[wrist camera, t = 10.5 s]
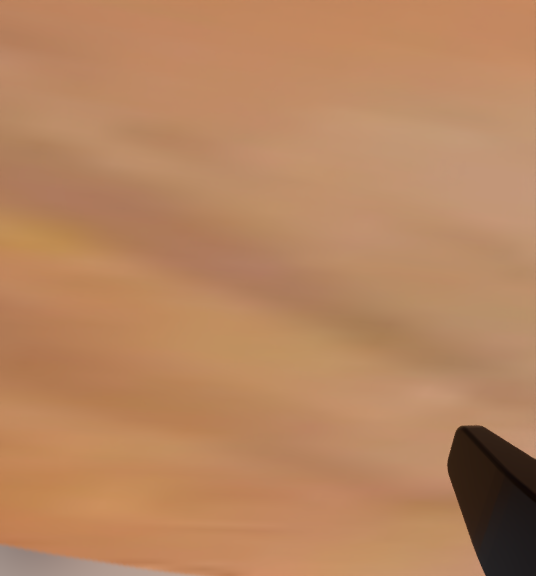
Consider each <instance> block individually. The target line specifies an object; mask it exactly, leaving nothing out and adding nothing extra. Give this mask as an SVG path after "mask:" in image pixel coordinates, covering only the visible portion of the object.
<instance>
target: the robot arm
mask: <svg viewBox="0 0 536 576" xmlns="http://www.w3.org/2000/svg"><path fill="white" fill-rule="evenodd" d="M447 467H448V473H449V477H450V480H451V483H452V486H453V488H454V491H455V494H456V497H457V500H458V503H459V506H460V509H461V512H462V515H463V518H464V521H465V523H466V526H467V529H468V532H469V535H470V538H471V541H472V544H473V546H474V549H475V552H476V554H477V557H478V559H479V562H480V564H481V566H482V569H483V571H484V573H485V575H486V576H536V459H534V458H532V457H531V456H529V455H528V454H526V453H525V452H523V451H521V450H520V449H518V448H517V447H515V446H513V445H512V444H510V443H509V442H507V441H505V440H504V439H502V438H501V437H499V436H498V435H496V434H494V433H493V432H491V431H490V430H488V429H486V428H485V427H483V426H478V425H474V426H460V427H459V428H458V429H457V430H456V432H455V436H454V439H453V443H452V447H451V450H450V454H449V457H448V464H447Z"/></svg>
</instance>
